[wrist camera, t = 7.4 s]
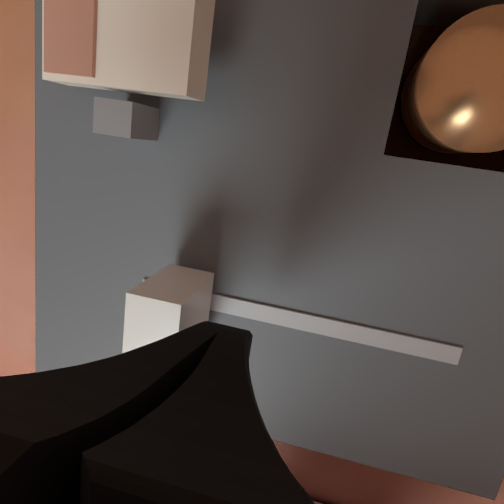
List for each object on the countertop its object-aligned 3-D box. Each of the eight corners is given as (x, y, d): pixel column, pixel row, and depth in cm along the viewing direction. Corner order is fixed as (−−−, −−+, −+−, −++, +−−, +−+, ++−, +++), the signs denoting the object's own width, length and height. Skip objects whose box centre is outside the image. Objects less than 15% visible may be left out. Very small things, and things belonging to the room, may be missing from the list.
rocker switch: (204, 101, 11) (183, 95, 10) (68, 85, 13) (38, 78, 12) (217, -19, 10) (196, -40, 9) (70, -20, 12) (38, -38, 11)
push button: (498, 160, 13) (543, 161, 10) (389, 145, 14) (403, 142, 11) (534, 43, 12) (593, 10, 9) (415, 32, 13) (438, -3, 10)
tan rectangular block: (206, 336, 14) (173, 383, 11) (164, 326, 14) (121, 369, 11) (214, 272, 13) (181, 305, 10) (170, 263, 14) (125, 292, 11)
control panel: (466, 440, 16) (517, 549, 12) (79, 342, 19) (0, 401, 15) (641, -61, 12) (836, -199, 7) (93, -92, 15) (-18, -204, 10)
